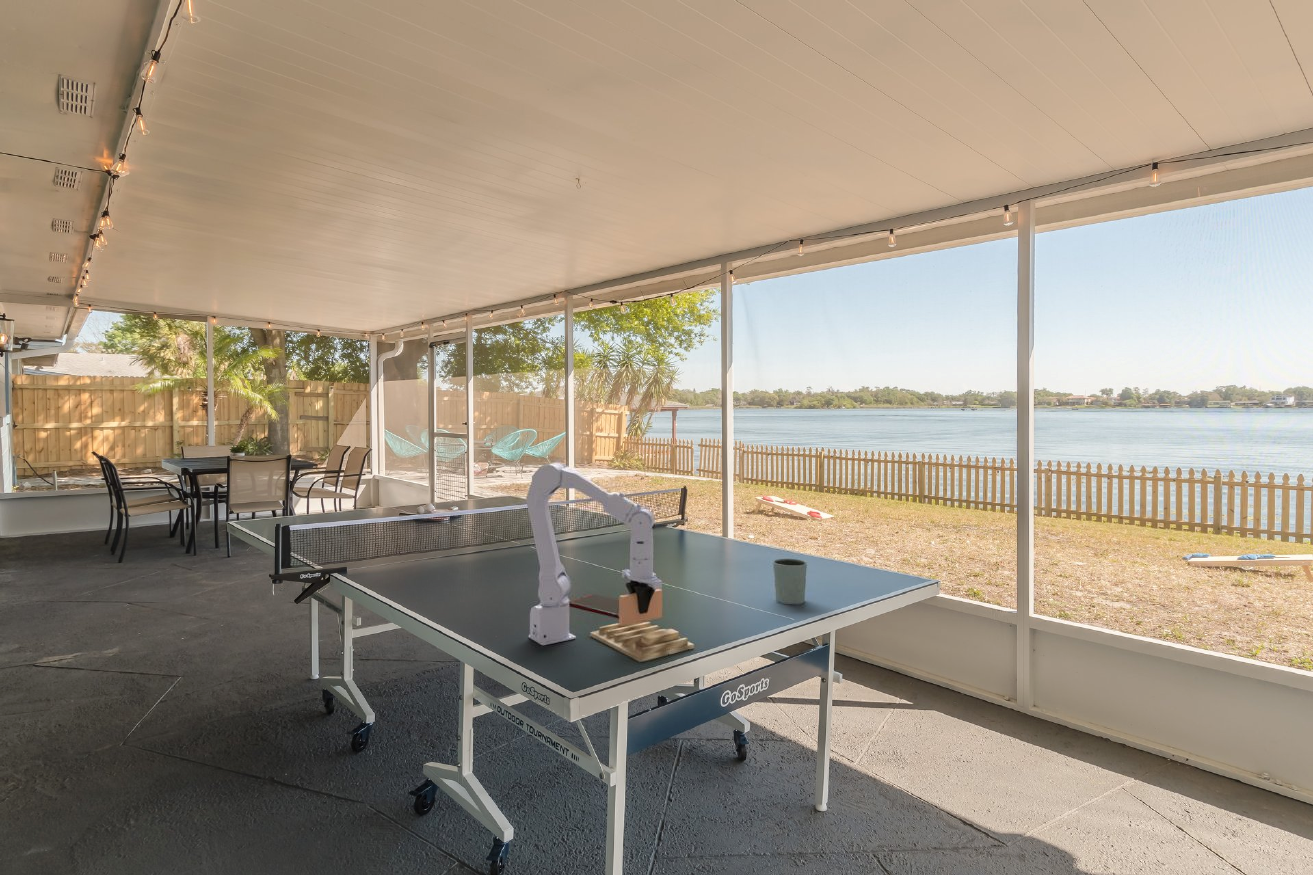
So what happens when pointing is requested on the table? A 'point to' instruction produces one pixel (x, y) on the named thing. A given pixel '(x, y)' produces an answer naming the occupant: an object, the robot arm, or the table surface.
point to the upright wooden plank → (631, 611)
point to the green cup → (790, 580)
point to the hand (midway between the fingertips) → (640, 611)
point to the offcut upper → (659, 636)
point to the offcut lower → (641, 645)
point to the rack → (638, 640)
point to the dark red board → (597, 604)
